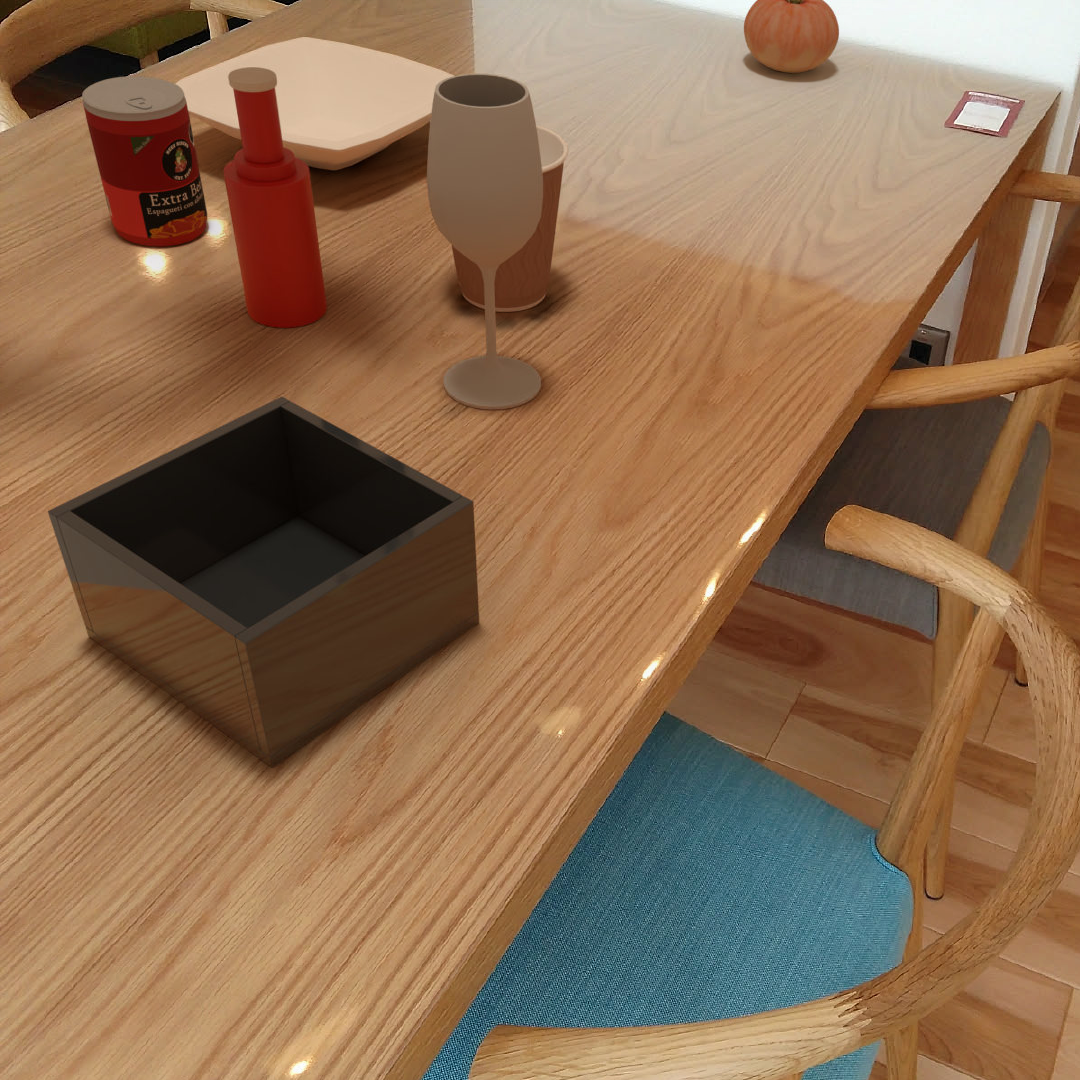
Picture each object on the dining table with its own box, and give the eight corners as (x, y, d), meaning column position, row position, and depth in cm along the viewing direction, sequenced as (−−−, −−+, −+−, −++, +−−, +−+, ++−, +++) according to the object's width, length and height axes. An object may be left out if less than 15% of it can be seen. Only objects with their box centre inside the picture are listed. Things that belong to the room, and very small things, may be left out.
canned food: (160, 257, 107) (130, 120, 99) (92, 229, 110) (58, 93, 102) (230, 225, 112) (206, 93, 104) (163, 199, 114) (135, 68, 107)
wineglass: (565, 384, 98) (567, 93, 83) (491, 423, 93) (480, 123, 79) (493, 346, 101) (483, 60, 86) (419, 382, 96) (395, 86, 82)
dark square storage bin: (88, 636, 74) (46, 510, 68) (301, 515, 84) (281, 395, 78) (272, 768, 68) (245, 643, 62) (479, 622, 78) (473, 501, 72)
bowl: (494, 140, 129) (492, 80, 125) (345, 224, 114) (338, 158, 110) (312, 87, 136) (305, 28, 132) (147, 159, 120) (134, 95, 116)
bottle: (231, 309, 102) (188, 73, 90) (291, 283, 106) (257, 53, 93) (283, 336, 100) (246, 98, 87) (342, 309, 103) (315, 76, 91)
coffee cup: (587, 281, 110) (590, 137, 101) (531, 335, 102) (529, 184, 94) (478, 252, 112) (473, 108, 104) (416, 302, 105) (404, 153, 96)
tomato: (741, 46, 155) (748, -27, 149) (831, 55, 155) (842, -18, 149) (739, 79, 147) (747, 2, 141) (835, 88, 147) (846, 11, 142)
